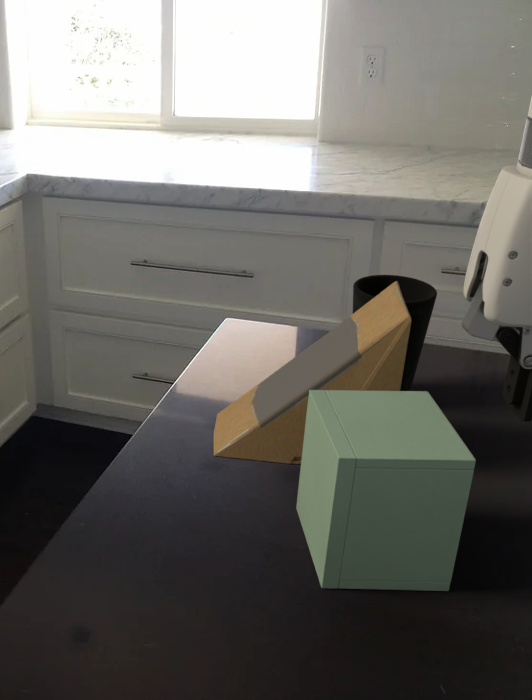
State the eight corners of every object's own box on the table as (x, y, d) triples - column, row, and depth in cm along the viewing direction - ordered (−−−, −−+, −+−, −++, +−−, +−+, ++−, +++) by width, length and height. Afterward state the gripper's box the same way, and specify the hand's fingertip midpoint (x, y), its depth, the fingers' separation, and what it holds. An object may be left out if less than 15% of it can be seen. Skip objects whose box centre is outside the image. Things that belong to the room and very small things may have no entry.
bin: (407, 510, 71) (428, 390, 66) (449, 591, 62) (476, 459, 57) (295, 508, 72) (309, 389, 67) (321, 588, 62) (338, 457, 58)
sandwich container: (215, 412, 87) (224, 270, 80) (376, 425, 84) (397, 279, 78) (211, 456, 79) (220, 303, 73) (387, 472, 76) (412, 314, 70)
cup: (425, 417, 85) (445, 303, 80) (345, 412, 86) (360, 300, 81) (409, 382, 92) (427, 275, 87) (335, 378, 93) (348, 273, 88)
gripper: (677, 140, 57) (607, 390, 64) (444, 139, 57) (401, 386, 65) (754, 165, 50) (665, 441, 57) (487, 163, 51) (434, 436, 58)
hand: (525, 411), depth 61 cm, fingers closed
